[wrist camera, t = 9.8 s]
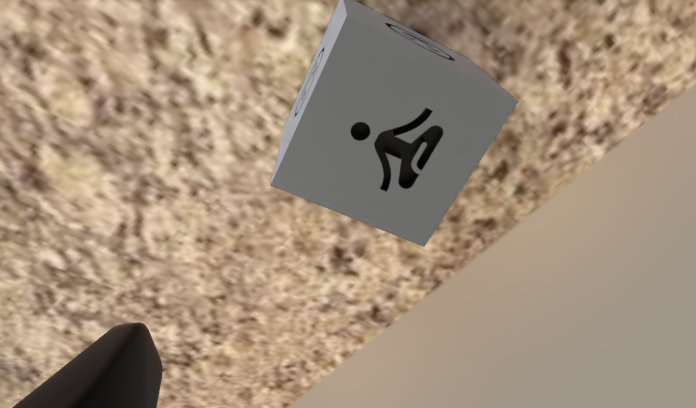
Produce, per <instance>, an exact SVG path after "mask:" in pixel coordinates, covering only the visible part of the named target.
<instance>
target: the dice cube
mask: <svg viewBox="0 0 696 408" xmlns="http://www.w3.org/2000/svg"><path fill="white" fill-rule="evenodd" d="M517 103H518V101H517V100H516V99H515V98H514V97H513V96H511V95H510V94H509V93H508V92H507V91H506V90H505V89H503V88H502V87H501V86H500V85H499V84H498V83H496V82H495V81H494V80H493V79H492V78H491V77H490V76H488V75H487V74H486V73H485V72H484V71H483V70H482V69H480V68H479V67H478V66H477V65H476V64H475V63H474V62H472V61H471V60H470V59H468V58H466V57H464V56H462V55H460V54H458V53H456V52H454V51H452V50H450V49H448V48H446V47H444V46H443V45H441V44H439V43H437V42H435V41H433V40H431V39H429V38H427V37H425V36H423V35H421V34H419V33H417V32H415V31H413V30H411V29H409V28H407V27H406V26H404V25H402V24H400V23H398V22H396V21H394V20H392V19H390V18H388V17H386V16H384V15H382V14H380V13H378V12H376V11H374V10H372V9H370V8H369V7H367V6H365V5H363V4H361V3H359V2H357V1H355V0H339V2H338V5H337V7H336V9H335V11H334V14H333V16H332V18H331V21H330V23H329V25H328V27H327V30H326V32H325V34H324V37H323V39H322V41H321V43H320V46H319V48H318V50H317V53H316V55H315V57H314V59H313V62H312V64H311V66H310V69H309V71H308V73H307V75H306V78H305V80H304V82H303V85H302V87H301V89H300V91H299V94H298V96H297V98H296V101H295V103H294V105H293V107H292V110H291V112H290V114H289V117H288V119H287V121H286V123H285V126H284V130H283V134H282V139H281V143H280V147H279V151H278V156H277V160H276V164H275V168H274V173H273V177H272V181H271V186H273V187H276V188H278V189H281V190H283V191H286V192H288V193H291V194H293V195H296V196H298V197H301V198H303V199H306V200H308V201H311V202H313V203H316V204H318V205H321V206H323V207H326V208H328V209H331V210H333V211H336V212H338V213H341V214H343V215H346V216H348V217H351V218H353V219H356V220H358V221H361V222H363V223H366V224H368V225H371V226H373V227H376V228H378V229H381V230H383V231H386V232H388V233H391V234H393V235H396V236H398V237H401V238H403V239H406V240H408V241H411V242H413V243H416V244H418V245H421V246H423V247H424V246H425V245H426V243H427V242H428V240H429V239H430V237H431V235H432V234H433V232H434V231H435V229H436V228H437V226H438V225H439V223H440V222H441V220H442V218H443V217H444V215H445V214H446V212H447V211H448V209H449V208H450V206H451V205H452V203H453V202H454V200H455V198H456V197H457V195H458V194H459V192H460V191H461V189H462V188H463V186H464V185H465V183H466V182H467V180H468V178H469V177H470V175H471V174H472V172H473V171H474V169H475V168H476V166H477V165H478V163H479V161H480V160H481V158H482V157H483V155H484V154H485V152H486V151H487V149H488V148H489V146H490V145H491V143H492V141H493V140H494V138H495V137H496V135H497V134H498V132H499V131H500V129H501V128H502V126H503V124H504V123H505V121H506V120H507V118H508V117H509V115H510V114H511V112H512V111H513V109H514V108H515V106H516V104H517Z"/></svg>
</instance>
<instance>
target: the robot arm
mask: <svg viewBox="0 0 696 408" xmlns="http://www.w3.org/2000/svg"><path fill="white" fill-rule="evenodd" d="M161 379H162V362H161V359H160V356H159V354H158V352H157V349H156V347H155V344H154V342H153V340H152V337H151V335H150V332H149V330H148V328H147V327H146V326H145V325H144V324H143V323H130V324H122V325H117V326H115V327H113V328H112V329H110V330H109V331H108V332H107V333H105V334H104V335H103V336H102V337H100V338H99V339H98V340H97V341H95V342H94V343H93V344H92V345H90V346H89V347H88V348H87V349H85V350H84V351H83V352H82V353H80V354H79V355H78V356H77V357H75V358H74V359H73V360H72V361H70V362H69V363H68V364H67V365H65V366H64V367H63V368H62V369H60V370H59V371H58V372H56V373H55V374H54V375H53V376H51V377H50V378H49V379H48V380H46V381H45V382H44V383H43V384H41V385H40V386H39V387H38V388H36V389H35V390H34V391H33V392H31V393H30V394H29V395H28V396H26V397H25V398H24V399H23V400H21V401H20V402H19V403H18V404H16V405H15V406H14V407H13V408H156V407H157V401H158V396H159V390H160V385H161Z"/></svg>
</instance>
